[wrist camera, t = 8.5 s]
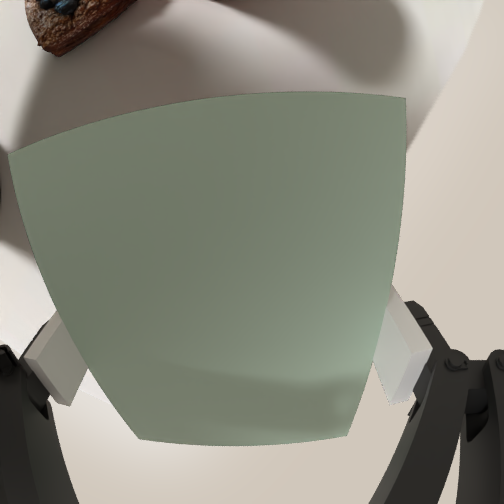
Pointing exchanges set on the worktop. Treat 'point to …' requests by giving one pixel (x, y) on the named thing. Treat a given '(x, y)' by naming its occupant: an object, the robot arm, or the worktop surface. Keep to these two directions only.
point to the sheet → (223, 258)
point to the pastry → (70, 21)
